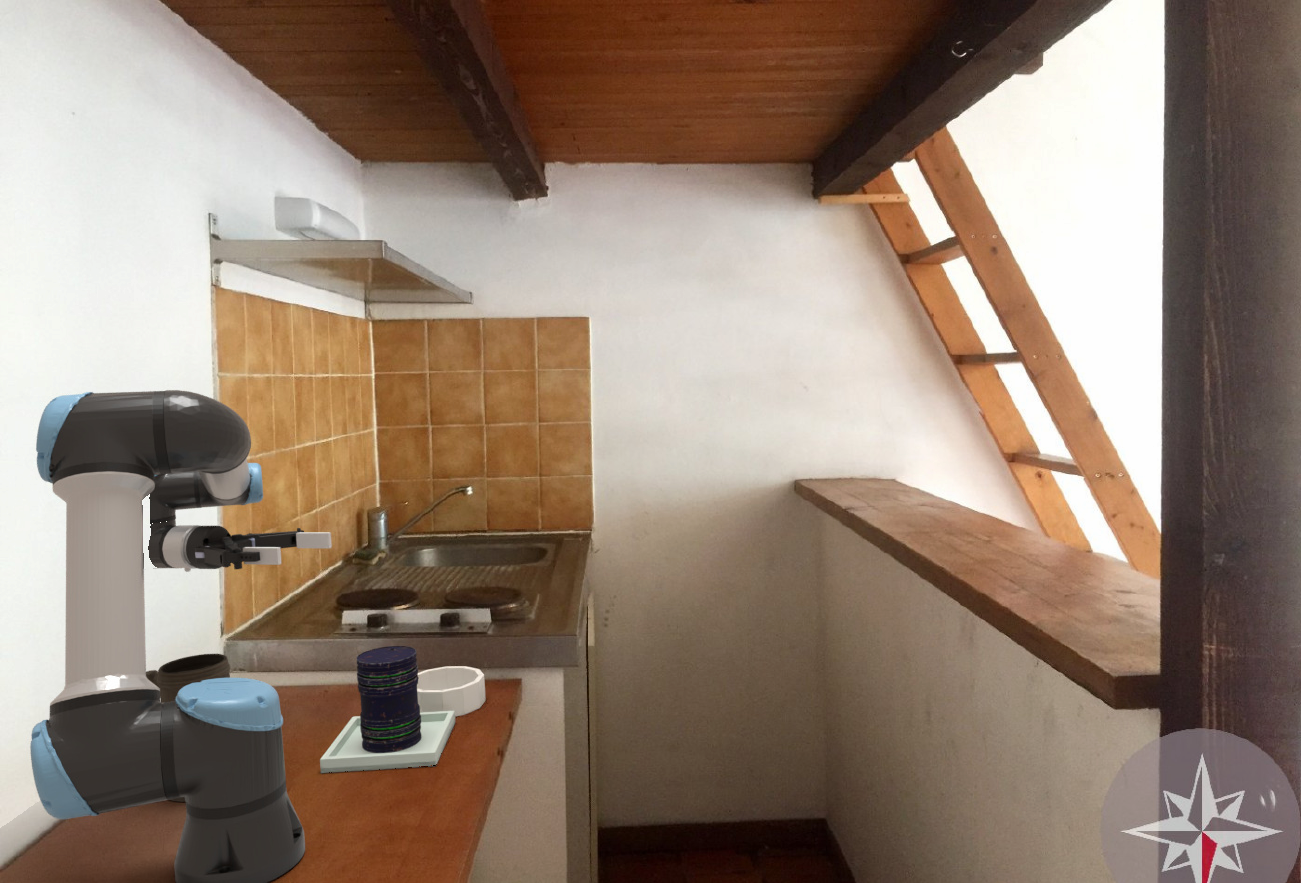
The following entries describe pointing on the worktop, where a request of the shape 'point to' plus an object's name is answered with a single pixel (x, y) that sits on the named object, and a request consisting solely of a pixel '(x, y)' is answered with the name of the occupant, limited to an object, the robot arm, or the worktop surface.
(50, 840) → the worktop surface
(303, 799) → the worktop surface
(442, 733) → the tray
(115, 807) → the robot arm
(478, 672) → the holder ring
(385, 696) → the rusty blue drum
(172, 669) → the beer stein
